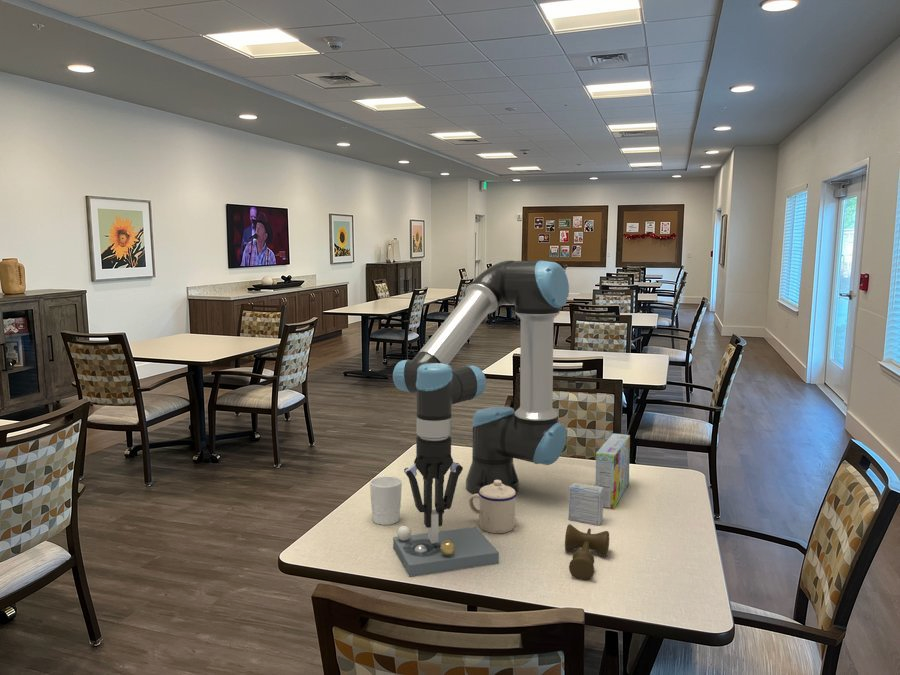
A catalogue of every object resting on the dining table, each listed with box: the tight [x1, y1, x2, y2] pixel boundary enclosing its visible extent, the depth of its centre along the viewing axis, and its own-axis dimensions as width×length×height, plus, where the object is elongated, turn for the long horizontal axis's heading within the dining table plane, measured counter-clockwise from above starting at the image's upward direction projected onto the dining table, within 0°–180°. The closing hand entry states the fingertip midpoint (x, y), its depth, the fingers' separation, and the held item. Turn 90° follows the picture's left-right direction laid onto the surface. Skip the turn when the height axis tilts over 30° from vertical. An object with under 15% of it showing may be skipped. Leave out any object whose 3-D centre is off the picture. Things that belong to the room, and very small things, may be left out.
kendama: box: [564, 523, 610, 581], centre depth 143 cm, size 6×10×20 cm
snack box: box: [594, 433, 631, 510], centre depth 181 cm, size 21×6×15 cm, turn 154°
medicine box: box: [567, 482, 604, 526], centre depth 164 cm, size 8×4×9 cm, turn 65°
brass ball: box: [440, 540, 455, 556], centre depth 139 cm, size 3×3×3 cm
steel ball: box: [414, 545, 428, 552], centre depth 143 cm, size 3×3×3 cm
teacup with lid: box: [468, 480, 517, 534], centre depth 160 cm, size 12×9×12 cm
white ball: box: [396, 525, 412, 541], centre depth 146 cm, size 3×3×3 cm
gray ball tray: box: [392, 526, 500, 578], centre depth 144 cm, size 20×14×2 cm
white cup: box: [369, 475, 403, 526], centre depth 163 cm, size 8×8×10 cm
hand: (433, 540), depth 143 cm, fingers closed
